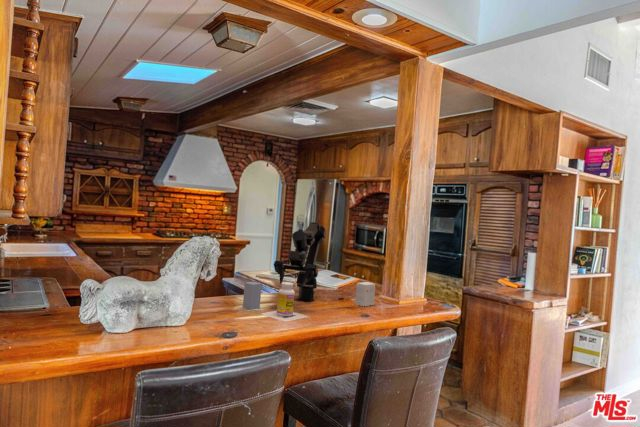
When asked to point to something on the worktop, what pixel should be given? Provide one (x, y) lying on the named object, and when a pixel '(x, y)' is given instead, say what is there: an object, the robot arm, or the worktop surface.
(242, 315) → the worktop surface
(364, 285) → the small box
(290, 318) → the pad
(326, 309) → the worktop surface
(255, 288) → the gray block
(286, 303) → the supplement bottle
